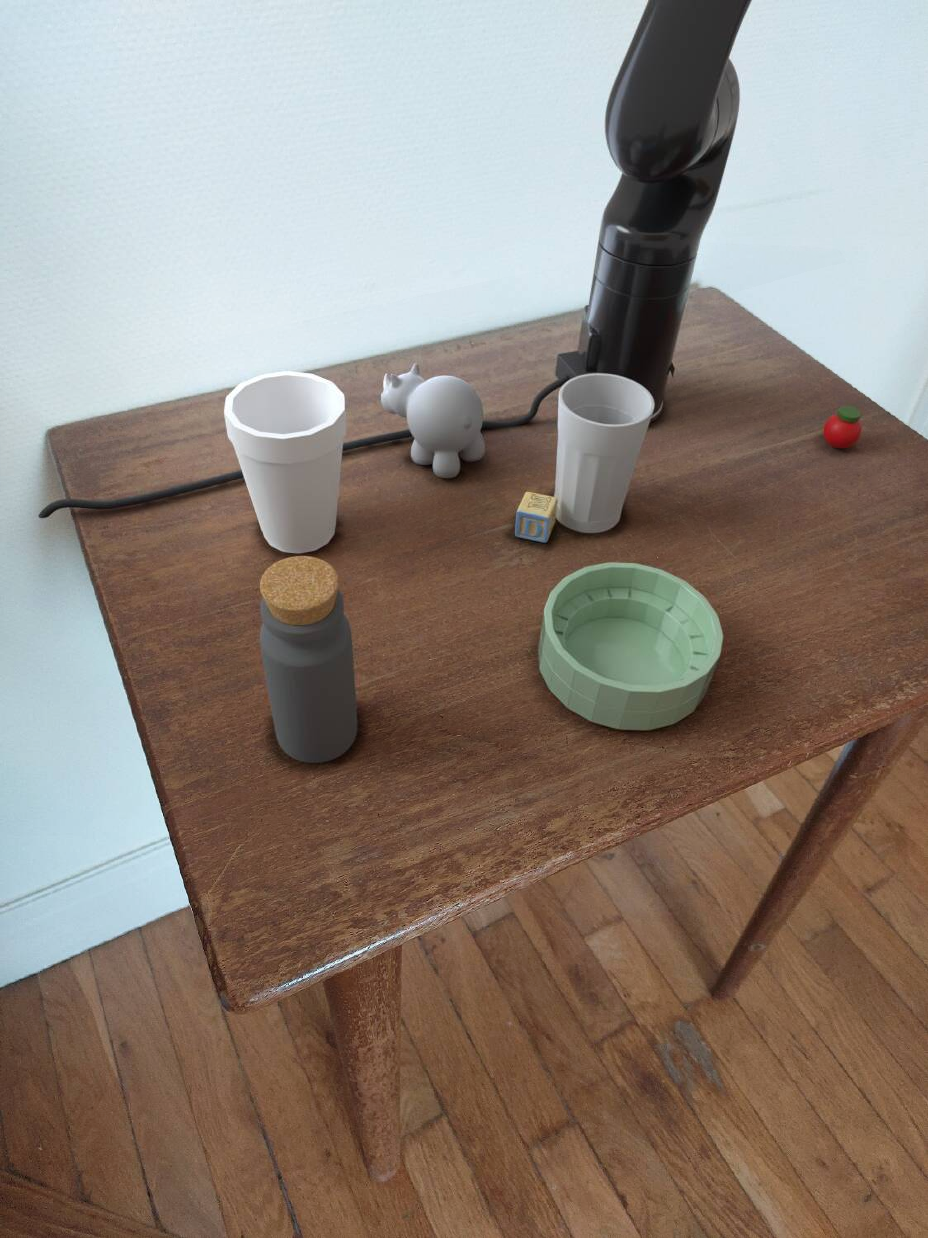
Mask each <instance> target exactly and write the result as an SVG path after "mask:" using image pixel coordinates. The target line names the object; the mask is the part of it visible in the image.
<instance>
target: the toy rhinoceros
mask: <svg viewBox="0 0 928 1238" xmlns="http://www.w3.org/2000/svg"><path fill="white" fill-rule="evenodd" d="M389 377H390V379H389ZM382 385H383V391H382V393H381V394H380V401H381V402H380V403H381V406H382V408H383V409H384V410H385V411H386V412H387V413H389V414H392V415H398V416H400V417H402V418H406V421H407V427H408V430H410V432H411V433H412V435H413V437H412V438H414V439H413V442H412V444H411V447H410V457H411V460H412V461H413V462H414V464H417V465H421V466H429V465H432V470H433V473H434V475H435V476H436V477H438V478H441V479H452V478H455V477H456V476H458V475H459V473H460V470H461V469H460V468H461V461H460V459H462V460H463V461H465V462H477V461H480V460H481V459H483V457H484V455H485V450H486V445H485V440H484V437H483V435H482V433H481V429H482V428H481V427H482V423H483V421H484V408H483V404H482V401H481V398H480V395H479V394H478V392H477V391H476V390H475V389H474V387H473V386H472V385H471V384H469V383H468V382H467V381H465V380H463V379H461V378H459V377H457V376H453V375H437V376H434V377H431V378H428V379H427V380H425V379H424V378H423V377H422V376H421V374H420V367H419V364H418V362H414V364H413V365H412V368H411V369H410V371H409V372H406V373H402V374H399V375H397V374H395V373H391V374H390V375H388V373H385V374H384V377H383V382H382Z"/></svg>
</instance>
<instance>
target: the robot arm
mask: <svg viewBox="0 0 928 1238" xmlns="http://www.w3.org/2000/svg"><path fill="white" fill-rule="evenodd" d="M752 1H753V0H647V3H646V5H645V8H644V9H643V12H642V15H641V17H640V20H639V22H638V24H637V27H636V28H635V32H634V33H633V36H632V39H631V41H630V43H629V45H628V48H627V50H626V53H625V55H624V57H623V60H622V62H621V65H620V67H619V70H618V71H617V75H616V77H615V79H614V81H613V84H612V87H611V88H610V92H609V95H608V99H607V102H606V106H605V113H604V136H605V142H606V147H607V149H608V153H609V155H610V158H611V159H612V161H613V163H614V165H615V167H617V169H618V170H619V171H620V172H621V175H620V178H619V180H618V183H617V184H616V187H615V189H614V191H613V193H612V195H611V196H610V199H609V200H608V202H607V203H606V205H605V208H604V209H603V212H602V216H601V221H600V227H599V234H598V242H597V248H596V254H595V260H594V267H593V273H592V280H591V287H590V293H589V298H588V299H589V300H588V304H586V305H585V306H584V307H583V312H582V319H581V325H580V332H579V338H578V346H577V350H574V351H573V350H572V351H569V352H563V353H562V352H561V353H558V354H557V357H556V365H555V371H554V372H555V373H554V375H555V377H556V378H557V380H554V381H553V382H551V383H550V384H548V385H546V386H545V387H544V388H542V389H541V390H540V391H539V392H538V393H537V394H536V396H535V397H534V399H533V401H532V403H531V407H530V409H529V411H528V412H527V413H525V414H524V415H521V416H520V417H518V418H515V419H512V420H506V421H494V420H493V421H491V420H483V423H482V427H481V429H486V430H487V429H490V430H491V429H502V428H511V427H518V426H522V425H525V424H526V423H528V422H530V421H532V420H533V419H534V418H535V417H536V415H537V414H538V411H539V409H540V405H541V403H542V402H543V400H544V399H545V398H546V397H547V396H548V395H550V394H551V393H553V392H554V391H557V390H558V389H559V388H561V387H562V386H563V385H564V384H565V383H566V382H567V381H569V380H570V379H572V378H574V377H577V376H581V375H585V374H593V373H603V374H612V375H618V376H622V377H625V378H628V379H630V380H633V381H635V382H637V383H638V384H640V385H642V386H643V387H644V388H645V389H647V390H648V391H649V393H650V394H651V395H652V397H653V399H654V404H655V406H654V410H653V413H652V416H651V419H650V422H649V424H651V423H653V422H654V421H656V420H657V419H658V418H659V417H660V415H661V413H662V409H663V405H664V399H665V394H666V388H667V384H668V380H669V376H670V374H671V377H672V378H674V375H675V372H676V371H675V370H676V368H675V366H674V363H673V359H674V355H675V350H676V346H677V342H678V337H679V332H680V330H681V325H682V320H683V317H684V311H685V308H686V304H687V299H688V295H689V290H690V286H691V282H692V278H693V274H694V270H695V265H696V261H697V256H698V252H699V248H700V243H701V240H702V237H703V233H704V232H705V229H706V227H707V225H708V223H709V221H710V218H711V216H712V214H713V212H714V210H715V206H716V203H717V200H718V196H719V192H720V189H721V185H722V181H723V177H724V173H725V170H726V166H727V162H728V160H729V155H730V152H731V149H732V144H733V140H734V136H735V131H736V128H737V122H738V117H739V111H740V101H741V88H740V82H739V76H738V73H737V70H736V68H735V65H734V64H733V62H732V60H731V59H730V56H731V53H732V50H733V48H734V45H735V43H736V40H737V36H738V34H739V32H740V28H741V27H742V23H743V21H744V18H745V16H746V14H747V13H748V10H749V8H750V5H751V3H752ZM409 438H414V437H413V435H412V433H411V432H410V429H405V430H399V431H394V432H388V433H383V434H378V435H373V436H369V437H363V438H360V439H355V440H351V441H347V442H343V449H342V453H343V452H347V451H350V450H355V449H359V448H364V447H369V446H373V445H377V444H383V443H386V442H393V441H396V440H402V439H409ZM241 479H244V476H243V473H242V470H241V469H240V470H235V471H232V472H228V473H224V474H221V475H220V474H219V475H216V476H213V477H209V478H204V479H201V480H197V481H193V482H188V483H185V484H180V485H176V486H173V487H168V488H164V489H161V490H160V489H159V490H155V491H151V492H147V493H143V494H138V495H133V496H127V497H123V498H122V497H121V498H115V499H109V500H94V499H93V500H92V499H91V500H90V499H81V498H62V499H59V500H55V501H52V502H50V503H49V504H48V505H46V506H45V507H43V508H42V510H41V511H40V513H39V514H38V518H40V519H46V518H49V517H50V516H51V515H52V514H54V512H56V511H58V510H61V509H66V508H76V509H88V510H112V509H119V508H124V507H130V506H136V505H142V504H146V503H149V502H154V501H158V500H162V499H166V498H171V497H174V496H180V495H182V494H186V493H191V492H195V491H199V490H203V489H207V488H210V487H214V486H219V485H222V484H226V483H229V482H233V481H237V480H241Z"/></svg>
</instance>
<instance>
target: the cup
mask: <svg viewBox="0 0 928 1238" xmlns="http://www.w3.org/2000/svg"><path fill="white" fill-rule="evenodd" d="M557 405H558V406H557V407H558V408H557V432H558V433H557V447H556V465H555V466H556V468H555V485H554V494H553V497H556V498H557V499H558V502H557V510H556V518H555V520H557V521H558V523H560V524H561V525H563V526H564V527H566V528H567V529H570V530H573V531H575V532H579V533H585V534H598V533H603V532H606V531H609V530H611V529H613V528H614V527H615V526H616V525H617V524H618V523H619V521H620V519H621V515H622V510H623V507H624V503H625V499H626V496H627V493H628V491H629V488H630V484H631V481H632V478H633V474H634V473H635V469H636V465H637V462H638V460H639V456H640V452H641V450H642V446H643V444H644V440H645V437H646V434H647V432H648V428H649V425H650V423H649V422H650V419H651V416H652V413H653V410H654V406H655V404H654V399H653V397H652V395H651V394H650V393H649V391H648V390H647V389H645V388H644V387H643V386H642V385H640V384H638V383H637V382H635V381H633V380H630V379H628V378H625V377H622V376H618V375H612V374H603V373H593V374H585V375H581V376H577V377H574V378H572V379H570V380H569V381H567V382H566V383H565V384H564V385H563V386H561V387H560V389H559V392H558V403H557Z"/></svg>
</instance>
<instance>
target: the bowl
mask: <svg viewBox="0 0 928 1238" xmlns="http://www.w3.org/2000/svg"><path fill="white" fill-rule="evenodd" d="M723 641H724V632H723V629H722V625H721V622H720V618H719V615H718V613H717V612H716V611H715V609H714V608H713V606H712V605H711V603H710V602H709V600H708V599H707V598H706V596H705V595H703V594H702V593H701V592H699V590H698V589H696V588H695V587H693V586H692V585H691V584H690V583H689V582H688V581H686V580H684V579H682V578H680V577H678V576H676V575H674V574H672V573H670V572H668V571H666V570H665V569H661V568H658V567H653V566H649V565H645V564H641V563H635V562H618V561H617V562H616V561H614V562H612V561H611V562H610V561H609V562H604V563H599V564H593V565H588V566H585V567H582V568H580V569H578V570H576V571H574V572H573V573H570V574H569V575H566V576H565V577H564V578H563V579H561V580H560V582H559V583H558V584H557V585H556V586H555V587H554V588H553V589H552V590H551V591H550V593H549V596H548V598H547V601H546V603H545V606H544V609H543V614H542V621H541V627H540V634H539V640H538V648H537V656H538V657H537V658H538V668H539V671H540V673H541V675H542V678H543V679H544V682H545V684H546V687H547V688H548V689H549V692H551V693H552V694H553V696H555V697H556V699H558V700H559V701H560V702H561V703H562V704H563V705H564V706H565V707H566V708H567V709H568V710H570V711H571V712H573V713H575V714H576V715H579V716H580V717H582V718H584V719H586V720H587V721H589V722H591V723H594V724H597V725H601V726H604V727H607V728H612V729H615V730H620V731H652V730H655V729H660V728H664V727H667V726H671V725H674V724H676V723H678V722H680V721H681V720H682V719H684V718H686V717H687V716H689V715H690V714H692V713H694V711H695V710H696V709H697V707H698V706H699V705H700V703H701V702H702V701H703V699H704V697H705V696H706V695H707V692H708V689H709V687H710V684H711V681H712V679H713V676H714V673H715V671H716V668H717V665H718V662H719V660H720V657H721V653H722V648H723Z"/></svg>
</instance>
